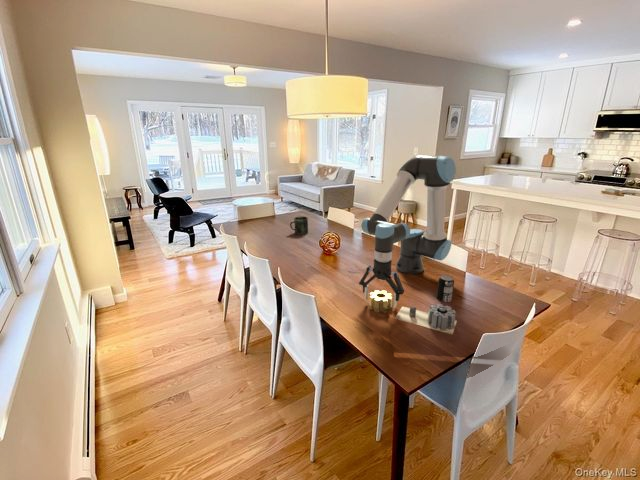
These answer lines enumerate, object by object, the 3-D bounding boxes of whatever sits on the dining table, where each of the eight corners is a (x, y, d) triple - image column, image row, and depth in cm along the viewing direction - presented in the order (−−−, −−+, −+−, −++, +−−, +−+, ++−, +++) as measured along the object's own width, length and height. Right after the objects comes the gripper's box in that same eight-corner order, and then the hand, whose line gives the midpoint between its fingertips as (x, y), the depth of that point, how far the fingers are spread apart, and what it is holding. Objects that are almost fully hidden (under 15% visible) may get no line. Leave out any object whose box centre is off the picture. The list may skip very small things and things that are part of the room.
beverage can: (439, 295, 154) (442, 273, 150) (453, 299, 150) (456, 276, 146) (434, 301, 149) (437, 277, 145) (448, 305, 145) (451, 281, 141)
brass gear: (374, 299, 151) (374, 288, 149) (394, 304, 146) (395, 293, 144) (365, 309, 143) (366, 297, 141) (387, 315, 138) (388, 303, 136)
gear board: (402, 308, 143) (402, 298, 141) (456, 322, 132) (458, 311, 130) (394, 320, 134) (395, 310, 132) (452, 337, 123) (453, 325, 121)
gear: (425, 315, 135) (427, 301, 133) (450, 317, 134) (452, 302, 131) (430, 329, 126) (431, 314, 123) (456, 331, 124) (458, 316, 122)
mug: (310, 233, 248) (310, 218, 244) (292, 236, 243) (292, 221, 239) (305, 230, 257) (305, 215, 253) (288, 232, 252) (287, 217, 248)
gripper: (352, 256, 140) (351, 299, 147) (409, 268, 128) (405, 314, 135) (359, 251, 146) (358, 292, 153) (414, 261, 134) (409, 306, 141)
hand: (380, 302), depth 144 cm, fingers open, 13 cm apart
